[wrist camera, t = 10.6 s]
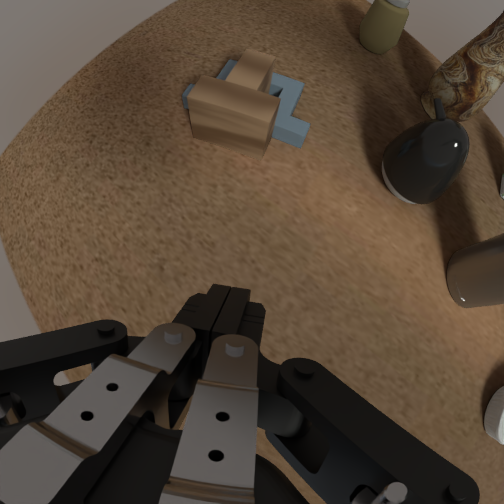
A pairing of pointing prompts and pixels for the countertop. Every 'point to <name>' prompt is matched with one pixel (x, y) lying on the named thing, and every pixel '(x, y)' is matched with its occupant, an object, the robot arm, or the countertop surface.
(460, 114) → the vase
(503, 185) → the syrup box
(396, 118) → the countertop surface
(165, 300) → the countertop surface
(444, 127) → the roly-poly penguin toy
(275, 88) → the t socket
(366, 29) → the squeeze bottle
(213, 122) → the t block
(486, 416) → the ramekin
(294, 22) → the countertop surface
